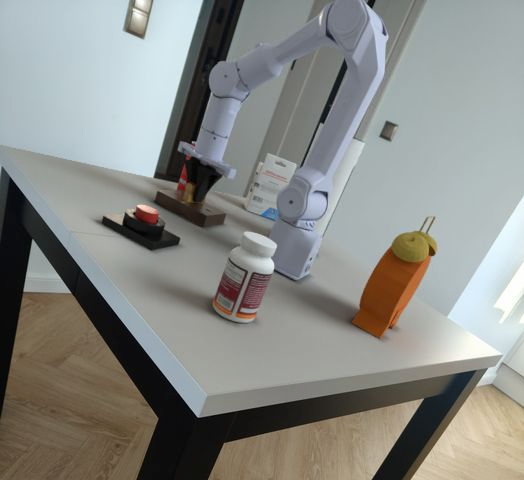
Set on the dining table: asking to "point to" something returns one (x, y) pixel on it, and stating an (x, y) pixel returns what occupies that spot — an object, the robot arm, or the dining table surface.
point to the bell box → (141, 230)
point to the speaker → (338, 178)
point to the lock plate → (190, 208)
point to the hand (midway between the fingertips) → (193, 199)
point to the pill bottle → (245, 278)
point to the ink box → (268, 186)
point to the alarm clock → (395, 281)
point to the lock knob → (190, 193)
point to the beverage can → (184, 174)
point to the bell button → (146, 213)
